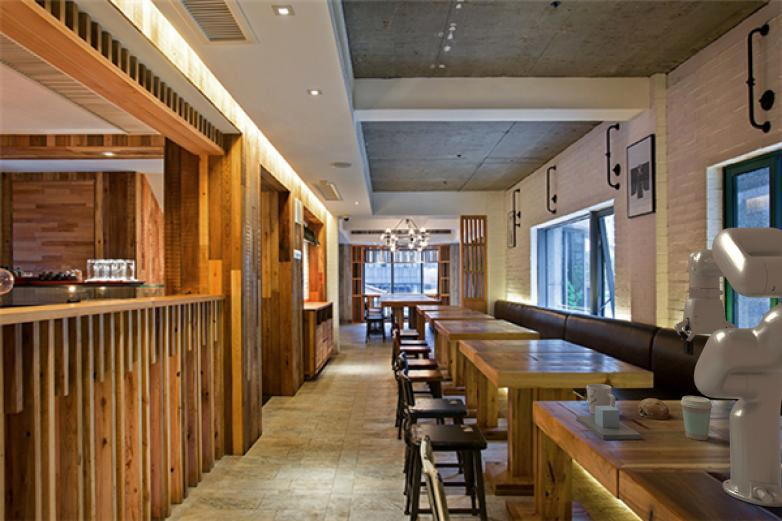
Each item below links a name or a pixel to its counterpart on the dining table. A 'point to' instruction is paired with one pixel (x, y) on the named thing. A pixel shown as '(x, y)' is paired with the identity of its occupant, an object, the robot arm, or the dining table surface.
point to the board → (608, 429)
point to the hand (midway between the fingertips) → (705, 354)
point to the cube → (607, 416)
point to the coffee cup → (696, 416)
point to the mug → (599, 396)
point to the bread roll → (653, 409)
